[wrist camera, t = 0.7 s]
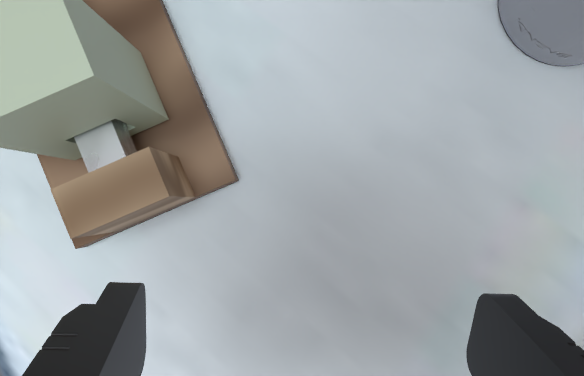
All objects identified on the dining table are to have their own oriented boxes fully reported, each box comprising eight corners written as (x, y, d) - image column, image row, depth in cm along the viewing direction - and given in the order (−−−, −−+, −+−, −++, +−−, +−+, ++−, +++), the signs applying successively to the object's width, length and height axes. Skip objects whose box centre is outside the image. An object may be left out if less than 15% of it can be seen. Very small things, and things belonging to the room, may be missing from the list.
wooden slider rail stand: (-57, -102, 34) (-159, -187, 27) (90, -168, 34) (29, -272, 27) (86, 246, 33) (21, 260, 26) (238, 180, 33) (219, 174, 25)
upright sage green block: (47, 93, 32) (-92, 36, 21) (140, 52, 31) (51, -28, 20) (74, 160, 31) (-51, 139, 20) (168, 119, 31) (94, 75, 20)
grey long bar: (-23, -135, 30) (-52, -165, 28) (12, -150, 30) (-15, -182, 28) (110, 187, 29) (92, 185, 27) (146, 171, 29) (131, 168, 27)
